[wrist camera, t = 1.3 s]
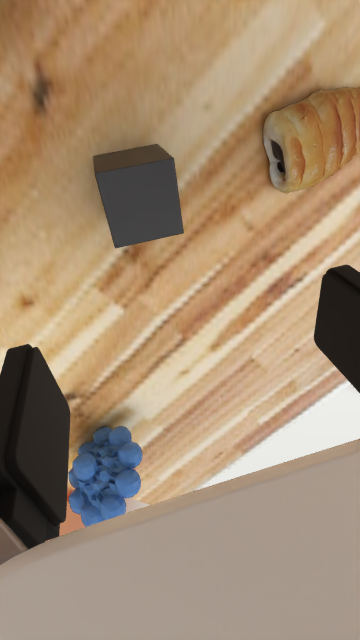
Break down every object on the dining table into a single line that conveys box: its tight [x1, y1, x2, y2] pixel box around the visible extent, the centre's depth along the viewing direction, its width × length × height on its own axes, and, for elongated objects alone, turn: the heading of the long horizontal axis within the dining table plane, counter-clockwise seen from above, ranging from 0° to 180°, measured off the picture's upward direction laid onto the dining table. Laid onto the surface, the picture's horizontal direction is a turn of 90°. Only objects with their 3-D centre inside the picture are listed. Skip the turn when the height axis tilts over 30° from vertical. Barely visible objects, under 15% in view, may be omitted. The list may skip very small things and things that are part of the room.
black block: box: [93, 144, 184, 248], centre depth 24 cm, size 5×5×6 cm
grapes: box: [69, 426, 142, 527], centre depth 38 cm, size 12×7×12 cm, turn 132°
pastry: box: [263, 87, 360, 193], centre depth 26 cm, size 9×7×4 cm
